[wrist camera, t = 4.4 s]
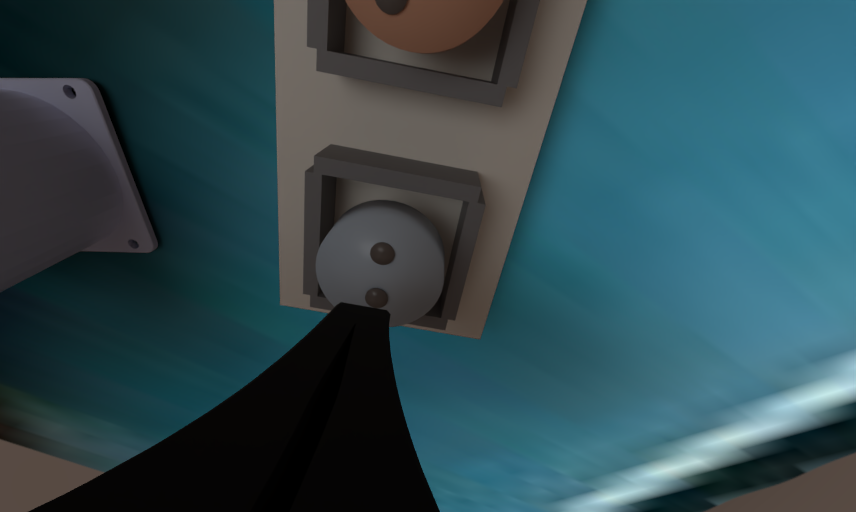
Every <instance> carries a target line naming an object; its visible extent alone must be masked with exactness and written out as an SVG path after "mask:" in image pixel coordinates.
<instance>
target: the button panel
mask: <svg viewBox="0 0 856 512" xmlns="http://www.w3.org/2000/svg"><path fill="white" fill-rule="evenodd" d="M586 2H587V0H503V2H502V4H501V6H500V7H499V8H498V10H497V11H496V13H495V14H494V16H493V17H492V18H491V19H490V20H489V21H488V23H487V24H486V25H485V26H484V27H483V28H482V29H481V30H480V31H479V32H478V33H477V34H476V35H475V36H473V37H472V38H471V39H470V40H468V41H467V42H465V43H464V44H462V45H460V46H458V47H456V48H454V49H451V50H448V51H445V52H441V53H435V54H421V53H413V52H409V51H405V50H402V49H398V48H396V47H394V46H391V45H389V44H387V43H385V42H384V41H382V40H381V39H379V38H377V37H376V36H375V35H374V34H372V33H371V32H370V31H369V30H367V28H366V27H365V26H364V25H363V24H362V23H361V22H360V21H359V20H358V19H357V17H356V16H355V15H354V13H353V12H352V11H351V9H350V8H349V6H348V4H347V3H346V1H345V0H274V27H275V76H276V124H277V173H278V222H279V271H280V305H284V306H290V307H296V308H302V309H308V310H313V311H319V312H325V313H329V312H330V311H331V310H332V309H333V308H334V306H333V305H332V304H331V303H330V302H329V300H328V299H327V298H326V296H325V295H324V293H323V292H322V290H321V288H320V286H319V283H318V280H317V275H316V257H317V253H318V250H319V248H320V245H321V243H322V242H323V240H324V239H325V237H326V236H327V234H328V233H329V232H330V230H331V229H332V227H333V226H334V225H335V223H336V222H337V220H338V219H339V218H340V217H341V216H342V215H343V214H344V213H345V212H346V211H348V210H349V209H351V208H352V207H354V206H356V205H358V204H361V203H364V202H367V201H373V200H391V201H396V202H400V203H404V204H406V205H409V206H411V207H413V208H415V209H417V210H418V211H419V212H421V213H422V214H424V215H425V216H426V217H427V218H428V219H429V220H430V221H431V222H432V223H433V225H434V226H435V227H436V229H437V231H438V232H439V234H440V236H441V239H442V242H443V245H444V252H445V262H444V283H443V288H442V292H441V294H440V296H439V299H438V300H437V302H436V303H435V305H434V306H433V307H432V308H431V309H430V310H429V311H428V312H427V313H426V314H425V315H424V316H422V317H420V318H419V319H417V320H415V321H413V322H411V323H408V324H404V325H400V326H405V327H411V328H417V329H423V330H429V331H434V332H440V333H446V334H452V335H457V336H463V337H469V338H475V339H480V338H481V335H482V332H483V328H484V325H485V322H486V319H487V316H488V313H489V309H490V306H491V303H492V300H493V297H494V294H495V290H496V287H497V284H498V281H499V278H500V275H501V271H502V268H503V265H504V262H505V259H506V256H507V252H508V249H509V246H510V243H511V240H512V237H513V233H514V230H515V227H516V224H517V221H518V218H519V214H520V211H521V208H522V205H523V202H524V199H525V195H526V192H527V189H528V186H529V183H530V180H531V176H532V173H533V170H534V167H535V164H536V161H537V157H538V154H539V151H540V148H541V145H542V142H543V138H544V135H545V132H546V129H547V126H548V123H549V119H550V116H551V113H552V110H553V107H554V104H555V100H556V97H557V94H558V91H559V88H560V85H561V81H562V78H563V75H564V72H565V69H566V66H567V62H568V59H569V56H570V53H571V50H572V47H573V43H574V40H575V37H576V34H577V31H578V28H579V24H580V21H581V18H582V15H583V12H584V9H585V5H586Z"/></svg>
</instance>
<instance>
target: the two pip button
mask: <svg viewBox="0 0 856 512" xmlns="http://www.w3.org/2000/svg"><path fill="white" fill-rule="evenodd" d="M444 262H445V252H444V245H443V242H442V239H441V236H440V234H439V232H438V231H437V229H436V227H435V226H434V225H433V223H432V222H431V221H430V220H429V219H428V218H427V217H426V216H425V215H424V214H422V213H421V212H419V211H418V210H417V209H415V208H413V207H411V206H409V205H406V204H404V203H400V202H396V201H391V200H373V201H367V202H364V203H361V204H358V205H356V206H354V207H352V208H351V209H349V210H348V211H346V212H345V213H344V214H343V215H342V216H341V217H340V218H339V219H338V220H337V222H336V223H335V225H334V226H333V227H332V229H331V230H330V232H329V233H328V234H327V236H326V237H325V239H324V240H323V242H322V243H321V245H320V248H319V250H318V253H317V257H316V275H317V280H318V283H319V286H320V288H321V290H322V292H323V293H324V295H325V296H326V298H327V299H328V300H329V302H330V303H331V304H332V305H333V306H334V307H335V306H336V305H337V304H339V303H340V302H344V303H349V304H355V305H361V306H367V307H372V308H378V309H384V310H387V311H388V312H389V313H390V314H391V315H390V322H389V327H394V326H400V325H404V324H408V323H411V322H413V321H415V320H417V319H419V318H420V317H422V316H424V315H425V314H426V313H427V312H428V311H429V310H430V309H431V308H432V307H433V306H434V305H435V303H436V302H437V300H438V299H439V296H440V294H441V292H442V288H443V283H444Z"/></svg>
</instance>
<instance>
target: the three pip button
mask: <svg viewBox="0 0 856 512" xmlns="http://www.w3.org/2000/svg"><path fill="white" fill-rule="evenodd" d="M345 1H346V3H347V4H348V6H349V8H350V9H351V11H352V12H353V13H354V15H355V16H356V17H357V19H358V20H359V21H360V22H361V23H362V24H363V25H364V26H365V27H366V28H367V30H369V31H370V32H371V33H372V34H374V35H375V36H376V37H377V38H379V39H381V40H382V41H384V42H385V43H387V44H389V45H391V46H394V47H396V48H398V49H402V50H405V51H409V52H413V53H421V54H435V53H441V52H445V51H448V50H451V49H454V48H456V47H458V46H460V45H462V44H464V43H465V42H467V41H468V40H470V39H471V38H472V37H473V36H475V35H476V34H477V33H478V32H479V31H480V30H481V29H482V28H483V27H484V26H485V25H486V24H487V23H488V21H489V20H490V19H491V18H492V17H493V16H494V14H495V13H496V11H497V10H498V8H499V7H500V6H501V4H502V2H503V0H345Z"/></svg>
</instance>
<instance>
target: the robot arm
mask: <svg viewBox="0 0 856 512" xmlns="http://www.w3.org/2000/svg"><path fill="white" fill-rule="evenodd" d="M72 88H74V90H75V92H76V96H75V95H74V93H73V92H72ZM134 240H135V241H136V242H137V243H138V244H139V245H138V244H137V243H136V242H135V241H134ZM157 247H158V242H157V239H156V236H155V234H154V231H153V229H152V226H151V223H150V221H149V218H148V216H147V213H146V210H145V208H144V205H143V203H142V200H141V197H140V195H139V192H138V190H137V187H136V184H135V182H134V179H133V177H132V174H131V171H130V169H129V166H128V164H127V161H126V158H125V156H124V153H123V150H122V148H121V145H120V143H119V140H118V137H117V135H116V132H115V130H114V127H113V124H112V122H111V119H110V117H109V114H108V111H107V109H106V106H105V104H104V101H103V98H102V96H101V93H100V91H99V89H98V87H97V86H96V85H95V84H94V83H93V82H92V81H90V80H89V79H85V78H0V292H2V291H4V290H5V289H7V288H9V287H11V286H13V285H15V284H17V283H19V282H21V281H23V280H25V279H27V278H29V277H31V276H33V275H35V274H37V273H39V272H41V271H42V270H44V269H46V268H48V267H50V266H52V265H54V264H56V263H58V262H60V261H62V260H64V259H66V258H68V257H70V256H72V255H74V254H76V253H77V252H79V251H96V252H135V253H149V252H152V251H153V250H155V249H156V248H157ZM390 315H391V314H390V313H389V312H388V311H387V310H384V309H378V308H372V307H367V306H361V305H355V304H349V303H344V302H340V303H339V304H337V305H336V306H335V307H334V308H333V309H332V310H331V311H330V312H329V313H328V314H327V315H326V317H325V318H324V319H323V320H322V321H321V322H320V323H319V324H318V325H316V326H315V327H314V328H313V329H312V330H311V331H310V332H309V333H308V334H307V335H306V336H305V337H304V338H303V339H302V340H300V341H299V342H298V343H297V344H296V345H295V346H294V347H293V348H292V349H290V350H289V351H288V352H287V353H286V354H285V355H284V356H282V357H281V358H280V359H279V360H277V361H276V362H275V363H274V364H273V365H271V366H270V367H269V368H268V369H266V370H265V371H264V372H263V373H261V374H260V375H259V376H258V377H256V378H255V379H254V380H253V381H251V382H250V383H249V384H247V385H246V386H244V387H243V388H242V389H240V390H239V391H238V392H236V393H235V394H234V395H232V396H231V397H229V398H228V399H226V400H225V401H223V402H222V403H221V404H219V405H218V406H216V407H215V408H213V409H212V410H210V411H209V412H207V413H206V414H204V415H203V416H201V417H199V418H198V419H196V420H195V421H193V422H191V423H190V424H188V425H187V426H185V427H184V428H182V429H180V430H179V431H177V432H176V433H174V434H172V435H171V436H169V437H167V438H166V439H164V440H162V441H161V442H159V443H157V444H156V445H154V446H152V447H151V448H149V449H147V450H145V451H143V452H142V453H140V454H138V455H136V456H134V457H132V458H131V459H129V460H127V461H125V462H123V463H122V464H120V465H118V466H116V467H114V468H112V469H111V470H109V471H107V472H105V473H103V474H102V475H100V476H98V477H96V478H94V479H93V480H91V481H89V482H87V483H85V484H83V485H81V486H79V487H77V488H75V489H74V490H72V491H70V492H68V493H66V494H64V495H62V496H60V497H58V498H56V499H54V500H52V501H50V502H47V503H45V504H43V505H41V506H39V507H37V508H35V509H33V510H31V511H29V512H440V511H439V509H438V506H437V504H436V501H435V499H434V497H433V494H432V492H431V489H430V487H429V485H428V482H427V480H426V478H425V475H424V473H423V470H422V468H421V465H420V462H419V459H418V457H417V454H416V451H415V448H414V445H413V442H412V439H411V436H410V433H409V430H408V427H407V424H406V420H405V417H404V413H403V410H402V406H401V402H400V398H399V394H398V390H397V386H396V381H395V376H394V370H393V364H392V358H391V351H390V341H389V322H390Z"/></svg>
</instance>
